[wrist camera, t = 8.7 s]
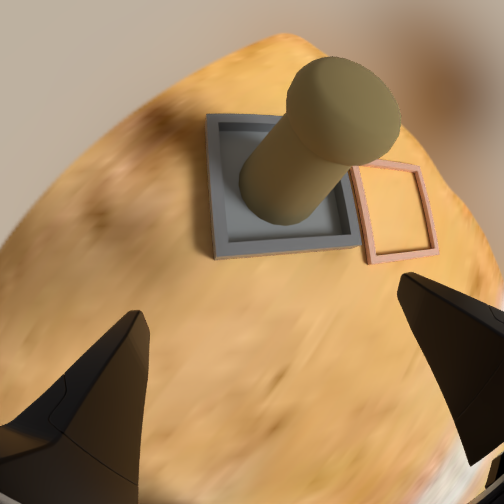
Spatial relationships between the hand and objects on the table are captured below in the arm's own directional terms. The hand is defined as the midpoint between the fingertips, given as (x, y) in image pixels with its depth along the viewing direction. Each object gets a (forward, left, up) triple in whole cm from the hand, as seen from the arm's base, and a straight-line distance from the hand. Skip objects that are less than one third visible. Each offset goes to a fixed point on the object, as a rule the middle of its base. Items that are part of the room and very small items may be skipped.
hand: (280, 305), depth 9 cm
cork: (+8, -4, -9) cm, 13 cm away
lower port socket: (+8, -4, -9) cm, 13 cm away
